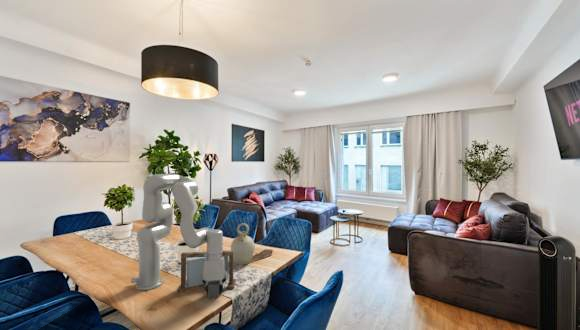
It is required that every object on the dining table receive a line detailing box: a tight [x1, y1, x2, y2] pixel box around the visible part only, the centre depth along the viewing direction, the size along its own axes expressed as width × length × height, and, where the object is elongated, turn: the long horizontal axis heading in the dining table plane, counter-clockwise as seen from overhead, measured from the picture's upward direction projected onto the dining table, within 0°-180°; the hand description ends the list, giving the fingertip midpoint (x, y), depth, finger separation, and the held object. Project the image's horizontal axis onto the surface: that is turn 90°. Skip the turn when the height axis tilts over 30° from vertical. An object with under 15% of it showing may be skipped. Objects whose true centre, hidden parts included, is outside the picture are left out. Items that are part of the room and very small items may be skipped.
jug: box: [230, 222, 255, 265], centre depth 153 cm, size 15×16×25 cm
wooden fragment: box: [250, 248, 274, 264], centre depth 162 cm, size 26×11×1 cm, turn 149°
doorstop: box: [207, 280, 221, 299], centre depth 117 cm, size 5×15×6 cm, turn 9°
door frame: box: [176, 250, 237, 293], centre depth 120 cm, size 28×8×18 cm, turn 98°
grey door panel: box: [186, 256, 229, 289], centre depth 124 cm, size 21×1×14 cm, turn 119°
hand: (214, 291), depth 113 cm, fingers closed on doorstop, 5 cm apart
